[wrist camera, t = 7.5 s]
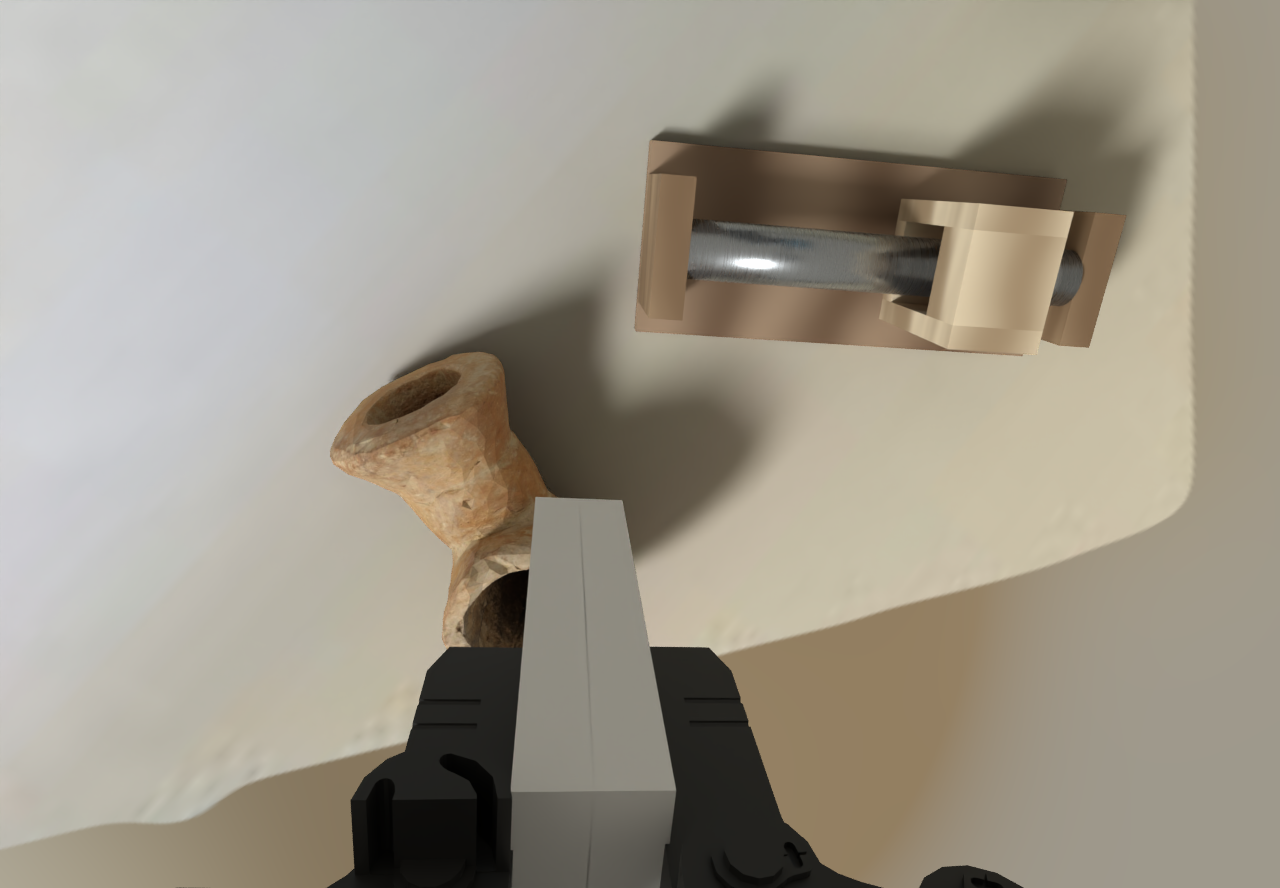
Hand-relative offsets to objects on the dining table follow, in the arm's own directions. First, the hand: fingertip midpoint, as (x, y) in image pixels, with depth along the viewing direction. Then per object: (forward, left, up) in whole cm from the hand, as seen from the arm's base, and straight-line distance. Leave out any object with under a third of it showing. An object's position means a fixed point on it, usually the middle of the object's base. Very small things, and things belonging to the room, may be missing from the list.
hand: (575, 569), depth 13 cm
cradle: (-4, +14, -26) cm, 30 cm away
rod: (-4, +14, -23) cm, 27 cm away
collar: (-4, +18, -25) cm, 31 cm away
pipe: (+10, -3, -27) cm, 29 cm away
